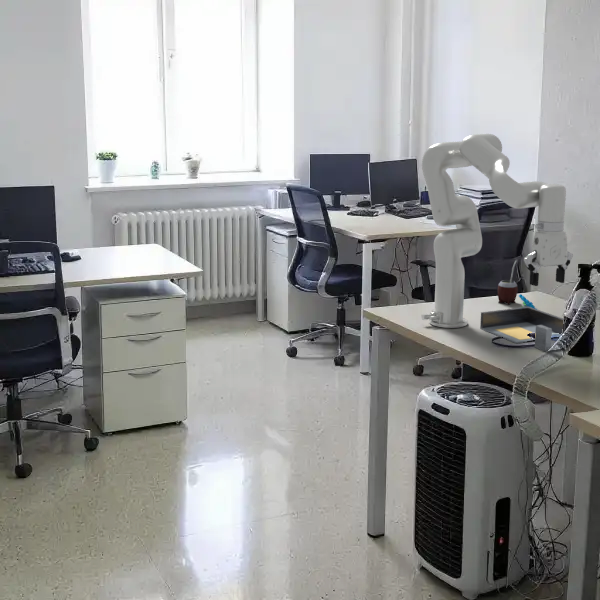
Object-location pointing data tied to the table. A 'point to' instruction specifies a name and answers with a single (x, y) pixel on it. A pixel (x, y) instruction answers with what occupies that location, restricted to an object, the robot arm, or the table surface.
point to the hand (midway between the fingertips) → (546, 283)
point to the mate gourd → (507, 290)
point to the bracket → (543, 338)
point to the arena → (518, 323)
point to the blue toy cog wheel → (526, 302)
